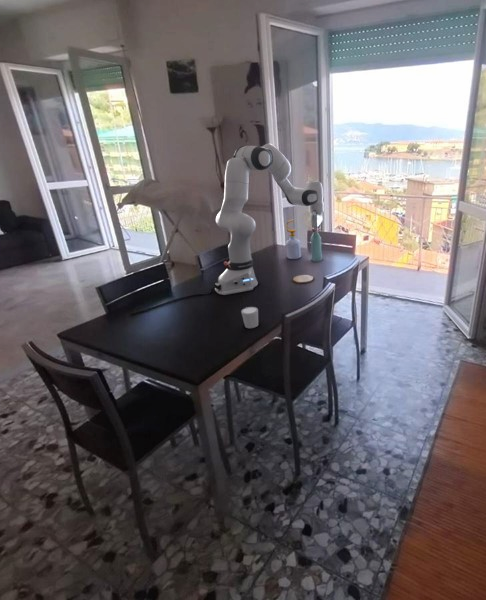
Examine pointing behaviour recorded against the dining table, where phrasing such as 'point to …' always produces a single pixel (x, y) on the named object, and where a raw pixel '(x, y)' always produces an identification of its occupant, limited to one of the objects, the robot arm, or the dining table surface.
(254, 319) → the white cylinder
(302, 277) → the coaster
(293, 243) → the soap bottle
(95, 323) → the dining table surface
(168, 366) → the dining table surface
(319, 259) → the bottle
